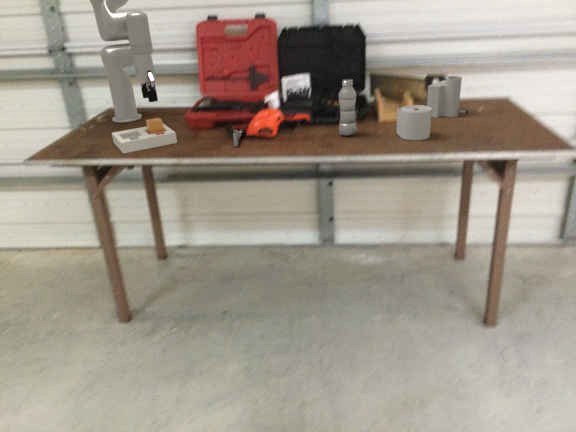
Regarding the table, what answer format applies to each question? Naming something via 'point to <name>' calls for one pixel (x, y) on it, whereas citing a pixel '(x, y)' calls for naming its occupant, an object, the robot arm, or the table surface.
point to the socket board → (142, 139)
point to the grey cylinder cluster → (445, 97)
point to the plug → (154, 125)
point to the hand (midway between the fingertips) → (150, 99)
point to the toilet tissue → (414, 122)
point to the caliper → (236, 137)
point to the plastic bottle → (347, 108)
